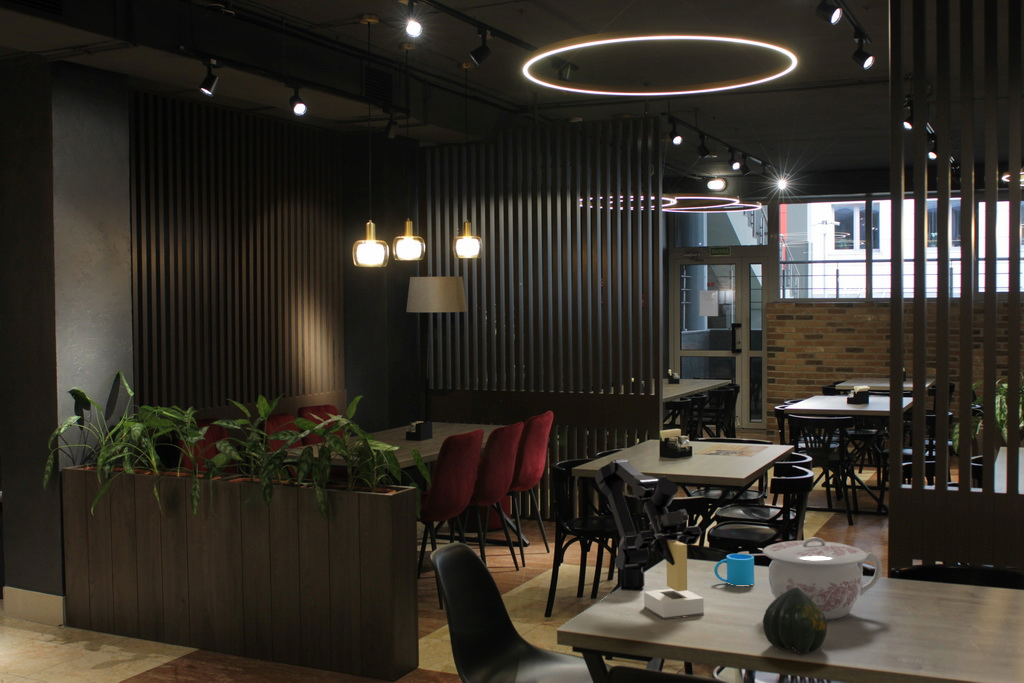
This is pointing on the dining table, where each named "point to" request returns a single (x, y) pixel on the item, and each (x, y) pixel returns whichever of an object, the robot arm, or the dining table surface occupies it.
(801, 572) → the chamber pot
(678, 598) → the white slotted base
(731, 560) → the mug
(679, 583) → the block
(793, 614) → the squash
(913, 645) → the dining table surface
